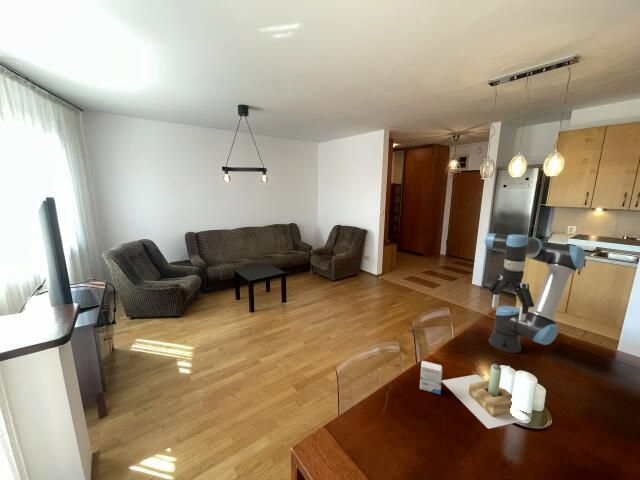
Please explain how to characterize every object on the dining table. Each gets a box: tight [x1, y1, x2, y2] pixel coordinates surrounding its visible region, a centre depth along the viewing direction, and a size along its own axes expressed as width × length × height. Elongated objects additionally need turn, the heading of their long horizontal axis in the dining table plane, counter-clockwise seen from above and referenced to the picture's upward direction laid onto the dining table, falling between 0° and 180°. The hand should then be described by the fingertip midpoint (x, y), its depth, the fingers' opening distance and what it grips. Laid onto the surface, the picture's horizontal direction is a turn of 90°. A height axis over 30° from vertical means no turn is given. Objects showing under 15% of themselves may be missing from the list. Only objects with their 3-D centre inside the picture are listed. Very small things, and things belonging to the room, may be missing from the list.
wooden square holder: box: [469, 380, 513, 417], centre depth 108 cm, size 12×12×5 cm
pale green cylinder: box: [488, 363, 502, 397], centre depth 107 cm, size 4×4×17 cm
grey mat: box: [441, 373, 523, 429], centre depth 111 cm, size 26×20×1 cm
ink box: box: [419, 360, 443, 395], centre depth 116 cm, size 9×5×12 cm, turn 65°
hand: (507, 313), depth 121 cm, fingers open, 13 cm apart
